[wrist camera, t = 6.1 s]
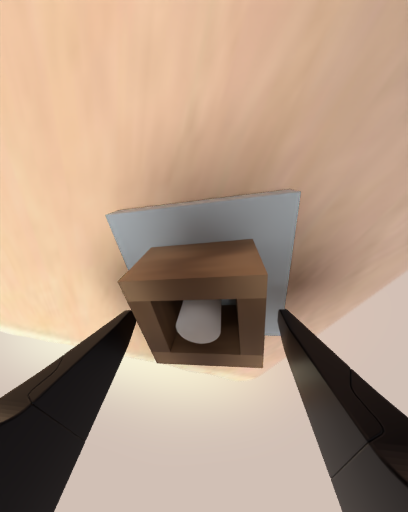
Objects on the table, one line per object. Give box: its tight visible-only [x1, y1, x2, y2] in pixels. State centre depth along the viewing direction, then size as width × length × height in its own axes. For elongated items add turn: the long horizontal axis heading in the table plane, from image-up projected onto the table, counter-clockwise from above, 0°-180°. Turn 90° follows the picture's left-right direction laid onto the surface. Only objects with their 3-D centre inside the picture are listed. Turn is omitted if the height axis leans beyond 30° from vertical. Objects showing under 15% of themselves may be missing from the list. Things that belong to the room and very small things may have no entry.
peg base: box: [105, 189, 301, 344], centre depth 11 cm, size 12×12×6 cm
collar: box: [118, 239, 268, 368], centre depth 10 cm, size 7×7×4 cm
